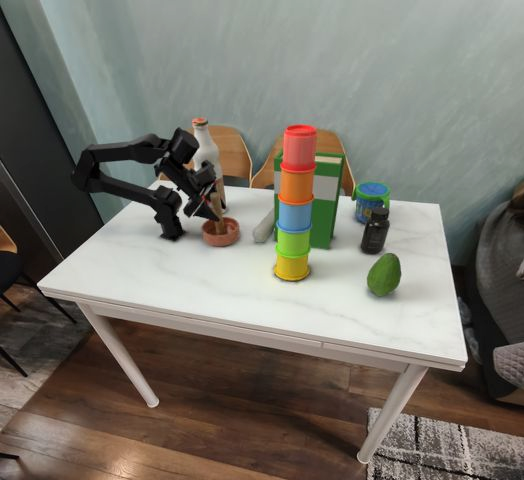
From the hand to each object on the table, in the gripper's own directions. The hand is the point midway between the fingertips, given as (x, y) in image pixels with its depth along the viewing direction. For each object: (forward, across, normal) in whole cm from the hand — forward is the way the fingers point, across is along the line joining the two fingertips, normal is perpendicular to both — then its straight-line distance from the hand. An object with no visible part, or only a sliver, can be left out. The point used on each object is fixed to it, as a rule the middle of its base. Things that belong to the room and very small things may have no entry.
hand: (222, 214), depth 96 cm
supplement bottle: (+39, -2, -28) cm, 48 cm away
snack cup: (+38, +17, -27) cm, 50 cm away
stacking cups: (+22, -16, -11) cm, 29 cm away
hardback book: (+24, +2, -13) cm, 27 cm away
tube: (+16, +9, -5) cm, 19 cm away
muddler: (+4, 0, +6) cm, 7 cm away
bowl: (+5, 0, +7) cm, 8 cm away
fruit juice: (-1, +18, +12) cm, 21 cm away
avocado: (+40, -22, -28) cm, 54 cm away
